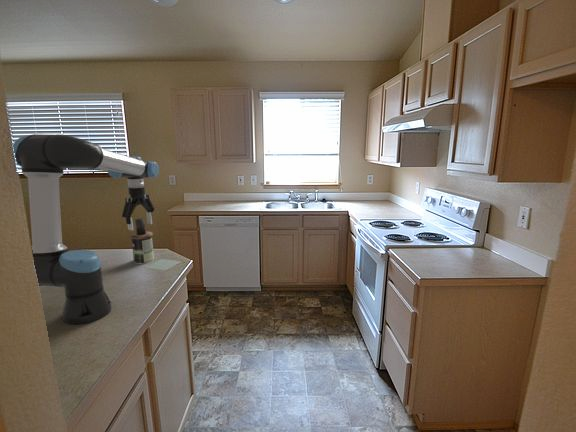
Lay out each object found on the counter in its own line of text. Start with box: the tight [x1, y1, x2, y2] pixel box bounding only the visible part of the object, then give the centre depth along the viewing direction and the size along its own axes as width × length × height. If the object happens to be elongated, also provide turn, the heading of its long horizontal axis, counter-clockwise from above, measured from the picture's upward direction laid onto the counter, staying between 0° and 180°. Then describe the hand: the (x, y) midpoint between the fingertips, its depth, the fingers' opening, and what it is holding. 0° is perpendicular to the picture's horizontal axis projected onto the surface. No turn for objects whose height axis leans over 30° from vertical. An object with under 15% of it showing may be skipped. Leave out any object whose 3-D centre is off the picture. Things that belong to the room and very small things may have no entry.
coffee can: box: [130, 236, 155, 265], centre depth 166 cm, size 10×10×14 cm
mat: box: [144, 258, 182, 271], centre depth 162 cm, size 13×13×1 cm
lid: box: [129, 217, 154, 239], centre depth 164 cm, size 11×11×9 cm
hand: (140, 226), depth 164 cm, fingers open, 13 cm apart
